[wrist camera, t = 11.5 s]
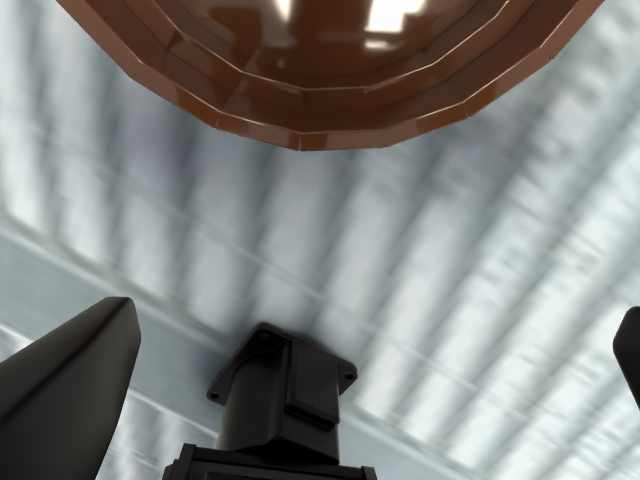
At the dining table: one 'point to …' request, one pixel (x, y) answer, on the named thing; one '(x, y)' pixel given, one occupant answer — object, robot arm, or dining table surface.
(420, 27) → the bowl
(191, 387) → the dining table surface
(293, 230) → the dining table surface
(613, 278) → the dining table surface
